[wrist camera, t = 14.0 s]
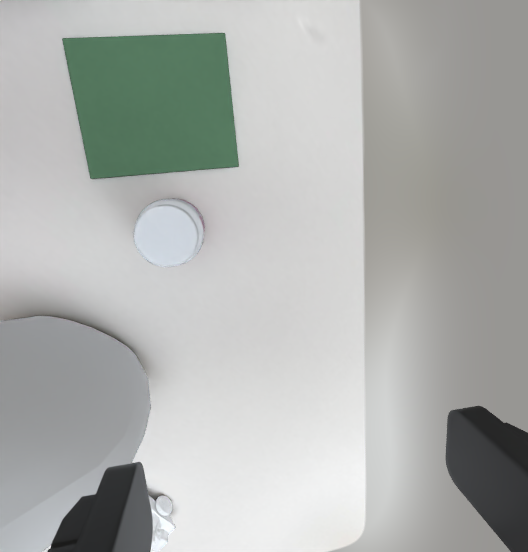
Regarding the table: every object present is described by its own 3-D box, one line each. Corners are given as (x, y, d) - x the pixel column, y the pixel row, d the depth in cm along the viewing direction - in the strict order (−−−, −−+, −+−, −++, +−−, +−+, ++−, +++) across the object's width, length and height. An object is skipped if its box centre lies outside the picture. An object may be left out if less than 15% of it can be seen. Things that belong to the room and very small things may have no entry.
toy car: (151, 536, 37) (144, 577, 33) (87, 500, 35) (72, 539, 31) (181, 505, 37) (178, 542, 33) (119, 466, 35) (108, 502, 31)
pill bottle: (215, 234, 31) (218, 248, 23) (170, 263, 31) (156, 288, 23) (184, 187, 30) (175, 184, 22) (136, 217, 30) (110, 226, 22)
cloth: (224, 34, 28) (224, 32, 27) (238, 166, 30) (238, 166, 30) (64, 40, 26) (61, 38, 26) (91, 178, 28) (90, 178, 28)
